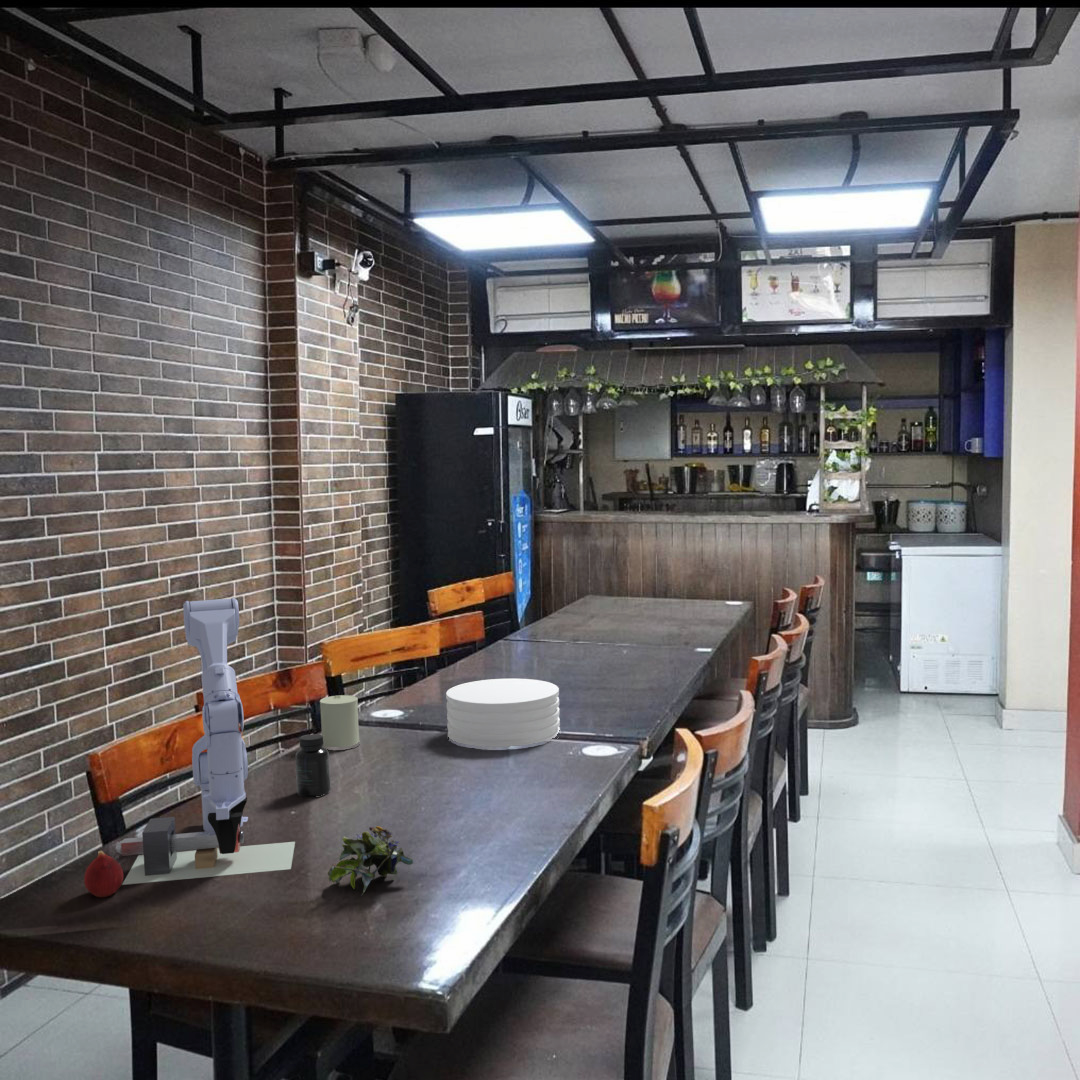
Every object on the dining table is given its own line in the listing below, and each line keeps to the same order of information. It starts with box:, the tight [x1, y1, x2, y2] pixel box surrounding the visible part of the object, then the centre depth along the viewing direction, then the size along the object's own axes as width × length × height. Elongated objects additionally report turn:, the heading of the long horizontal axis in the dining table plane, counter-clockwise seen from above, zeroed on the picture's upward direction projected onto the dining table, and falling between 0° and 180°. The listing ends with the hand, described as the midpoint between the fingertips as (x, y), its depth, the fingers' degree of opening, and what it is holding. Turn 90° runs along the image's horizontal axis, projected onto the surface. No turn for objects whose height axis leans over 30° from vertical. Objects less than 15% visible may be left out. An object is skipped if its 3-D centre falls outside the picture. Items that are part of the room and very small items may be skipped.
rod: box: [115, 825, 245, 857], centre depth 180 cm, size 5×21×5 cm, turn 100°
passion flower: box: [327, 826, 414, 897], centre depth 171 cm, size 11×11×12 cm
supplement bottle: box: [294, 733, 331, 798], centre depth 220 cm, size 7×7×12 cm
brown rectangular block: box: [195, 847, 218, 869], centre depth 181 cm, size 5×3×2 cm, turn 10°
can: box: [319, 694, 360, 747], centre depth 257 cm, size 9×9×12 cm
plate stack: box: [445, 678, 561, 747], centre depth 262 cm, size 28×28×12 cm
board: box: [121, 841, 296, 886], centre depth 181 cm, size 13×27×1 cm, turn 100°
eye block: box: [141, 816, 178, 876], centre depth 180 cm, size 7×4×7 cm, turn 10°
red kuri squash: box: [83, 850, 124, 898], centre depth 169 cm, size 6×6×8 cm
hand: (230, 846), depth 182 cm, fingers closed on rod, 5 cm apart
